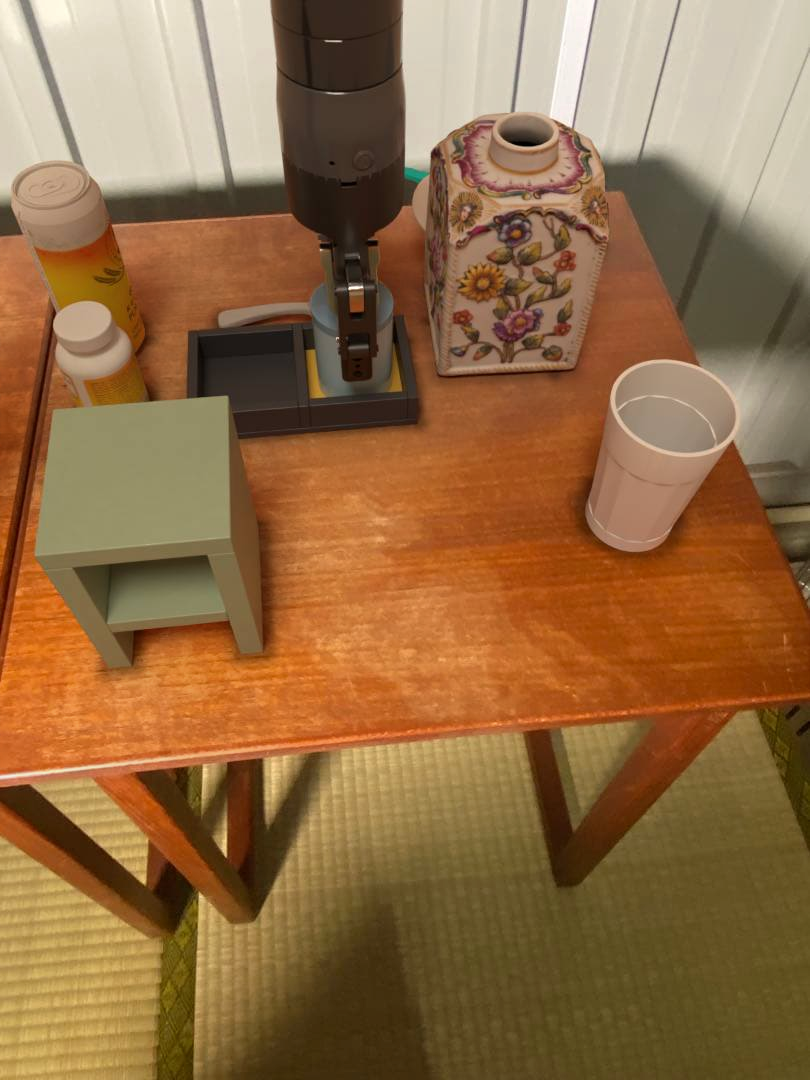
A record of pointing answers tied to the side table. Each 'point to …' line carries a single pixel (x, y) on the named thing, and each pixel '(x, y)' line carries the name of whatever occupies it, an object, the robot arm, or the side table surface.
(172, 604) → the shelf
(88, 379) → the supplement bottle
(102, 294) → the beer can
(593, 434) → the side table surface
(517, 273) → the decorative jar
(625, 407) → the cup
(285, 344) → the tray
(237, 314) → the spoon
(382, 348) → the blue grey cylinder
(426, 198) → the beige rounded piece
